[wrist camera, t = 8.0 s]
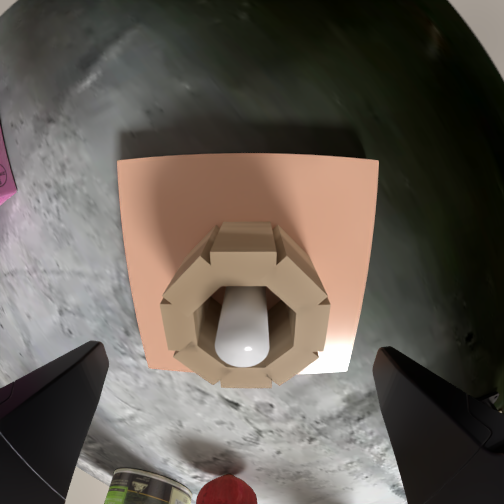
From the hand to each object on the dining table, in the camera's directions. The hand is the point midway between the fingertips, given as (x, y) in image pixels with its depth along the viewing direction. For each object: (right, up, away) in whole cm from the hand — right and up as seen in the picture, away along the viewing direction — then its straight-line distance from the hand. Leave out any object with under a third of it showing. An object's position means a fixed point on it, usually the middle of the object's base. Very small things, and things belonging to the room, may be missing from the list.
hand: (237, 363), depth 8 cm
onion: (-2, -19, +15) cm, 24 cm away
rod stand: (0, +2, +7) cm, 7 cm away
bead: (0, +2, +6) cm, 6 cm away
